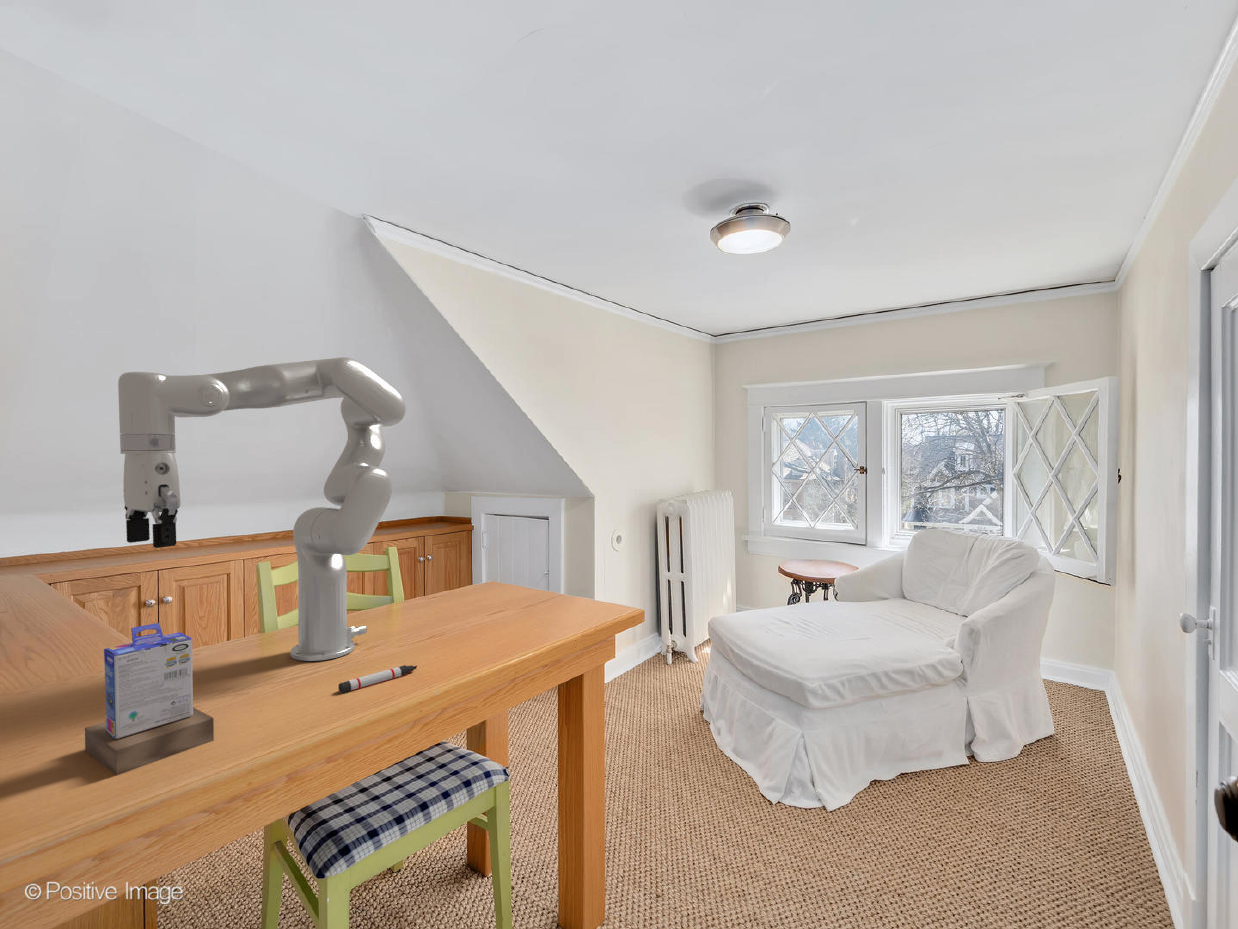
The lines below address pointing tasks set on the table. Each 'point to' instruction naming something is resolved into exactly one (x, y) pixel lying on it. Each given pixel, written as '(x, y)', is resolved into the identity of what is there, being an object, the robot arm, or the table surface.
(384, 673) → the marker
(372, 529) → the robot arm
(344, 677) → the table surface
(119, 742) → the walnut block
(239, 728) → the table surface
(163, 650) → the ink cartridge box
